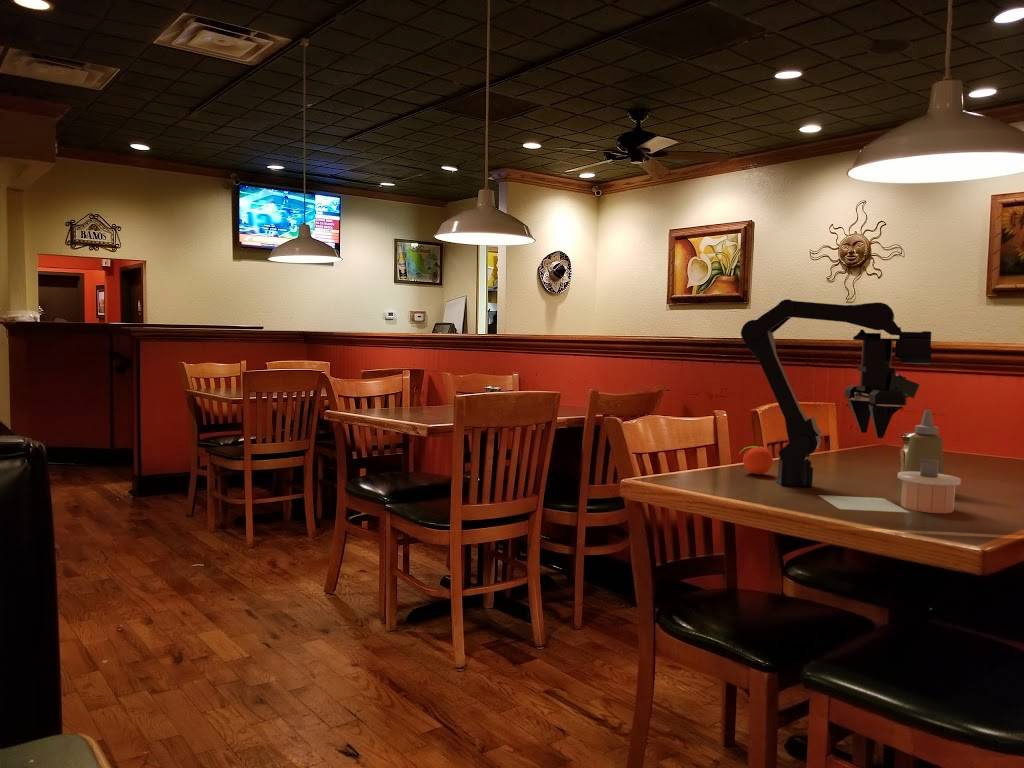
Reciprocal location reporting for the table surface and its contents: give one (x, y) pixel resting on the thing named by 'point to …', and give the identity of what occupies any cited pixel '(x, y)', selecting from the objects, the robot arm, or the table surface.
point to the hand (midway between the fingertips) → (871, 435)
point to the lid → (929, 475)
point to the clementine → (757, 460)
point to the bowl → (927, 497)
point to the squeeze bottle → (924, 445)
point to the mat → (863, 504)
